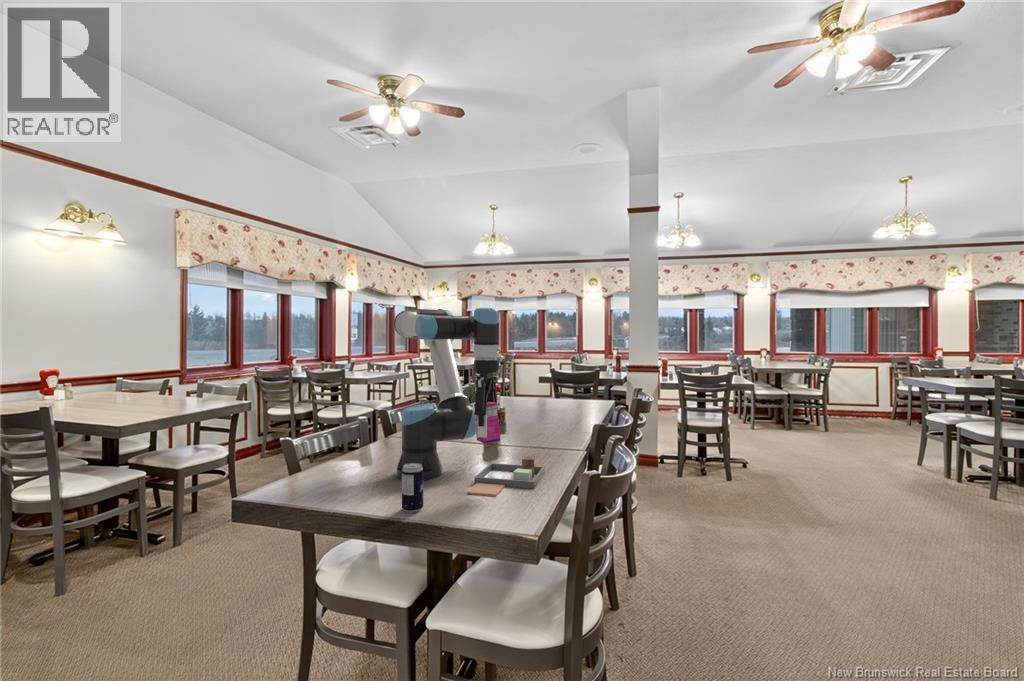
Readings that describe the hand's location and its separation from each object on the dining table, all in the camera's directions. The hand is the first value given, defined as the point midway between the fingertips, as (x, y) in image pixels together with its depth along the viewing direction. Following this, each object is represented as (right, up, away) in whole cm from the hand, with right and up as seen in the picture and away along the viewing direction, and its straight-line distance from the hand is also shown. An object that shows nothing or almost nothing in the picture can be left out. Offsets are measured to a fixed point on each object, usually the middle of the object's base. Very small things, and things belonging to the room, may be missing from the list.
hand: (486, 434), depth 142 cm
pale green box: (+11, -17, +7) cm, 22 cm away
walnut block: (+13, -17, +15) cm, 26 cm away
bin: (+7, -17, +13) cm, 22 cm away
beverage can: (-19, -17, -16) cm, 30 cm away
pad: (0, -17, 0) cm, 17 cm away
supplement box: (0, -2, 0) cm, 2 cm away
